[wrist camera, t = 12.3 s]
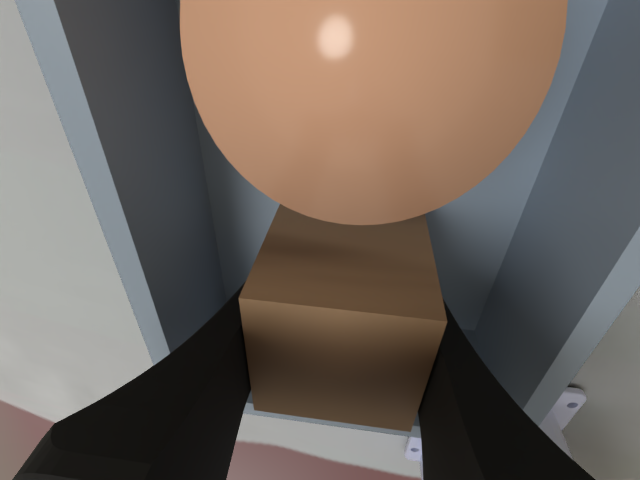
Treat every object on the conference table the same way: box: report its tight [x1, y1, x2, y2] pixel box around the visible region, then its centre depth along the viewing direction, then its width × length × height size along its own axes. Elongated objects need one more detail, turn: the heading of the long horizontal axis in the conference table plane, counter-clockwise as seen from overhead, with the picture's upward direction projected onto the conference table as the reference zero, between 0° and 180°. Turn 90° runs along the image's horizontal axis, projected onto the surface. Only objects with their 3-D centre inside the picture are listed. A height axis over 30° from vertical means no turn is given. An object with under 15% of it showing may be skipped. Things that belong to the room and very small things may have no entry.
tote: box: [15, 0, 640, 438], centre depth 11 cm, size 18×14×6 cm
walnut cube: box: [239, 204, 447, 432], centre depth 12 cm, size 5×5×5 cm
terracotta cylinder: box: [180, 0, 568, 225], centre depth 8 cm, size 5×5×7 cm
